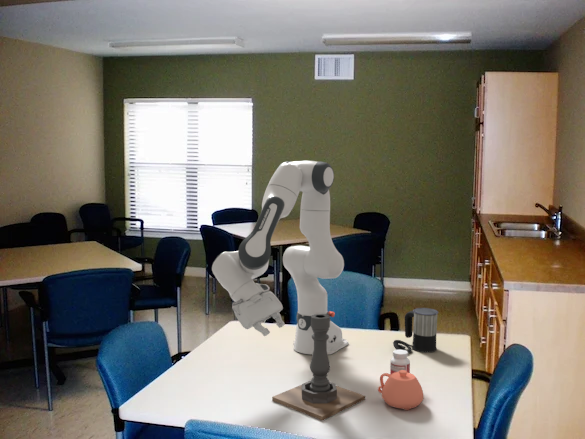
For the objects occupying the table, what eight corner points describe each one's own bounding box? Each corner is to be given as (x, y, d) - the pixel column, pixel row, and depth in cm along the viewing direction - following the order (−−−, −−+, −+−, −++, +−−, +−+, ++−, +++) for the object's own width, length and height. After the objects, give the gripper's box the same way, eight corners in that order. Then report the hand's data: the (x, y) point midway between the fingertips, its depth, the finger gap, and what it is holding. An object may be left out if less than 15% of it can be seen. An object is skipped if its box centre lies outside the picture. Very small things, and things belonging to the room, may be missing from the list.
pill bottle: (402, 380, 204) (402, 347, 203) (413, 386, 199) (414, 353, 197) (386, 383, 202) (386, 350, 200) (397, 389, 196) (398, 356, 195)
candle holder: (329, 401, 184) (329, 319, 181) (308, 400, 185) (308, 318, 182) (331, 393, 190) (331, 313, 187) (311, 391, 191) (311, 313, 188)
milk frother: (440, 347, 236) (441, 309, 235) (425, 359, 223) (426, 319, 222) (405, 341, 244) (406, 304, 242) (389, 352, 231) (389, 313, 229)
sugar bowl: (414, 416, 177) (415, 381, 176) (369, 405, 185) (370, 372, 183) (429, 401, 188) (430, 368, 186) (386, 391, 195) (386, 360, 194)
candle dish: (316, 382, 202) (316, 369, 202) (365, 399, 189) (365, 386, 188) (272, 400, 188) (272, 387, 187) (322, 420, 174) (322, 406, 174)
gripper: (235, 297, 187) (264, 333, 184) (269, 283, 205) (296, 316, 202) (223, 310, 190) (251, 346, 186) (258, 295, 208) (284, 327, 204)
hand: (275, 330), depth 194 cm, fingers open, 8 cm apart
